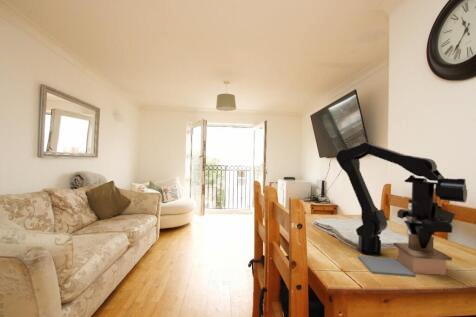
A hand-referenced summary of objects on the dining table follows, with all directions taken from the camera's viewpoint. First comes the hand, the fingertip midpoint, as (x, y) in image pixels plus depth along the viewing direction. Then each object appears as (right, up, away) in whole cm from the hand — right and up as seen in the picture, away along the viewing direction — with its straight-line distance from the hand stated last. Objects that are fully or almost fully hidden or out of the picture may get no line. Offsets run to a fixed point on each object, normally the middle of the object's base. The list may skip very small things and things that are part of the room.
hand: (420, 246), depth 80 cm
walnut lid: (0, -2, 0) cm, 2 cm away
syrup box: (+22, -7, +34) cm, 41 cm away
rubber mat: (-12, -6, 0) cm, 13 cm away
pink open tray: (0, -7, 0) cm, 7 cm away
